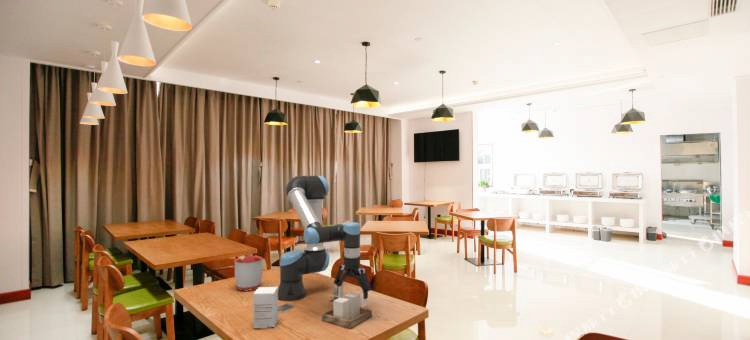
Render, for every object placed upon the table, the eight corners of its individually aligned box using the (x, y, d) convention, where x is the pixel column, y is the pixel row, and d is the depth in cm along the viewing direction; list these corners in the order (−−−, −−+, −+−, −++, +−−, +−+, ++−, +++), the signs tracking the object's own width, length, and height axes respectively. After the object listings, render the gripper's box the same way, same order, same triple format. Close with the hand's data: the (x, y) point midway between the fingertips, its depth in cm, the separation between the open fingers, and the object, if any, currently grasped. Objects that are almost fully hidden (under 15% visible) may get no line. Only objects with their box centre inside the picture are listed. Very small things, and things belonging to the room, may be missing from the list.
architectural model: (340, 304, 177) (340, 289, 177) (328, 302, 180) (328, 287, 180) (343, 301, 180) (343, 287, 180) (331, 300, 183) (331, 285, 183)
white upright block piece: (344, 315, 160) (344, 295, 160) (351, 311, 164) (351, 292, 164) (353, 317, 157) (353, 297, 157) (360, 313, 161) (360, 294, 162)
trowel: (267, 319, 158) (267, 314, 158) (258, 316, 161) (258, 311, 161) (294, 307, 171) (294, 303, 171) (285, 305, 174) (285, 301, 174)
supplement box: (258, 320, 156) (257, 286, 157) (278, 319, 157) (278, 286, 157) (252, 329, 147) (252, 293, 148) (274, 328, 148) (274, 292, 148)
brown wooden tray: (321, 320, 155) (321, 314, 155) (344, 309, 169) (344, 303, 169) (350, 329, 146) (350, 322, 146) (371, 316, 160) (371, 309, 160)
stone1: (333, 321, 153) (333, 300, 154) (340, 317, 158) (340, 297, 158) (342, 323, 151) (342, 302, 151) (349, 319, 155) (349, 299, 155)
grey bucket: (254, 281, 214) (254, 249, 215) (267, 288, 202) (267, 253, 202) (228, 287, 204) (228, 253, 204) (240, 294, 191) (240, 258, 191)
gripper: (326, 254, 165) (326, 299, 165) (369, 261, 151) (369, 311, 151) (336, 251, 171) (336, 295, 171) (378, 258, 157) (379, 305, 157)
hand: (352, 302), depth 161 cm, fingers open, 13 cm apart
